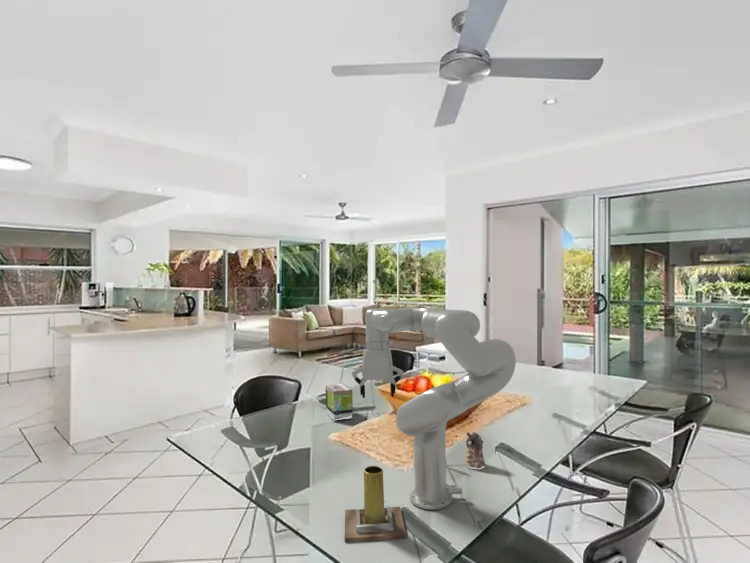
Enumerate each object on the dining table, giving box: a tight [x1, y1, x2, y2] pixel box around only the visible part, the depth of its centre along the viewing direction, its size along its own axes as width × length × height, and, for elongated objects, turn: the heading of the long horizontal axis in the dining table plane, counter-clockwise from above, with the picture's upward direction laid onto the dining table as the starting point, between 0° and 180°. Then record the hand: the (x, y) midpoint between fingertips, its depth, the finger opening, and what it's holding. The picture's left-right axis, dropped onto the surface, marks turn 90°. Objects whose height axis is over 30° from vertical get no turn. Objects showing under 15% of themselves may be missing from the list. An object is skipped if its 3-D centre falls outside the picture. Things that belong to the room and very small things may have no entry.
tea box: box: [325, 383, 354, 421], centre depth 218 cm, size 15×10×15 cm
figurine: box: [464, 431, 486, 468], centre depth 157 cm, size 7×7×12 cm
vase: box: [363, 465, 386, 524], centre depth 121 cm, size 6×6×14 cm
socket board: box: [344, 505, 407, 543], centre depth 121 cm, size 16×14×2 cm
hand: (377, 396), depth 148 cm, fingers open, 9 cm apart
